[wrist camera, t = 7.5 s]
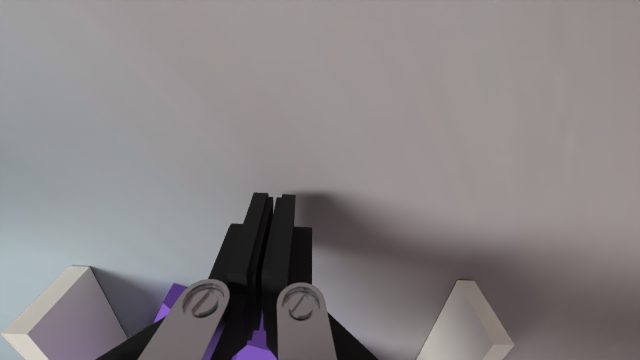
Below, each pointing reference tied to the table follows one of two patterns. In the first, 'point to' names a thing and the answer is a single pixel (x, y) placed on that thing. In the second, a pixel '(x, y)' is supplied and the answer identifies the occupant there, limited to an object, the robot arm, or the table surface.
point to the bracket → (255, 353)
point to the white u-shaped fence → (106, 333)
